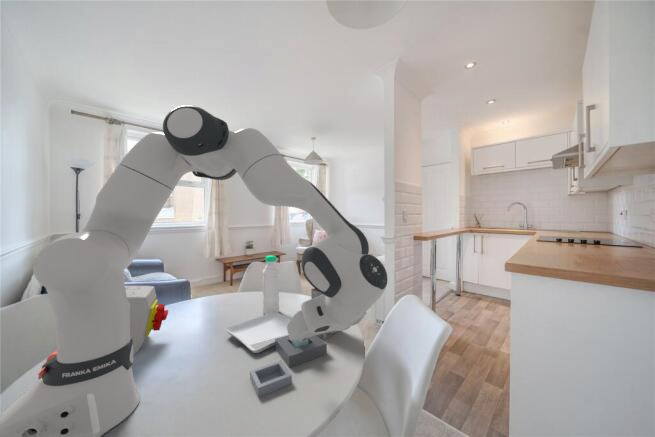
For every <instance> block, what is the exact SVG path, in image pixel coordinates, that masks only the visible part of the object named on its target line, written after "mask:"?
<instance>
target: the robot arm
mask: <svg viewBox="0 0 655 437" xmlns="http://www.w3.org/2000/svg"><path fill="white" fill-rule="evenodd" d="M162 131H163V132H150V133H147V134H146V135H145V136H143V137H142V138H141V139H140V140H139V141H137V143H136V144H135V145H134V146H132V147H131V149H130V150H128V152H127V153H126V155H125V156H124V157H123V158H122V159H121V160H120V162H119V164H118V165H117V167H115V169H114V171H113V172H112V173H111V175H110V176H109V178H108V179H107V181H105V184H103V187H102V188H101V189H100V190H99V192H98V194H97V195H96V198H95V204H94V207H93V209H92V212H91V214H90V217H89V218H88V221H87V223H86V224H85V226H84V228H83V229H82V230H81V231H80V232H79V231H77V232H72V233H69V234H66V235H63V236H60V237H58V238H56V239H55V240H53V241H52V242H50V243H49V244H47V245H46V246H44V247H43V248H42V249H41V250H40V251H39V252H38V254H37V255H36V256H35V258H34V260H33V264H32V273H33V275H34V278H35V279H36V280H37V282H38V283H39V284H40V285H41V286H42V287H44V288H45V290H46V292H47V295H48V298H49V301H50V304H51V307H52V311H53V313H54V314H53V315H54V319H55V320H54V321H55V329H56V330H55V332H56V334H55V335H56V337H55V338H56V345H55V346H56V350H55V351H53V352H52V353H51V354H50V355H49V356H48V357H47V358H46V361H45V362H44V363H43V364H42V366H41V370H39V371H38V373H37V375H38V377H37V379H38V380H40V381H39V382H37V383H36V384H34V385H33V386H32V387H31V388H29V389H28V390H27V391H26V392H24V393H23V394H22V395H21V396H19V397H18V398H17V399H16V400H14V401H13V402H12V403H11V404H10V405H9V406H8V407H7V408H6V409H4V411H3V413H2V414H1V415H0V437H102V436H103V435H104V434H105V433H107V432H108V431H110V430H111V429H113V428H114V427H116V426H117V425H119V424H120V423H122V421H124V420H125V419H126V418H128V417H129V416H130V415H131V414H132V413H133V412H134V410H135V409H136V408H137V407H138V404H139V403H140V399H141V396H140V393H139V391H138V389H137V387H136V382H135V379H134V373H133V367H132V365H133V362H134V355H133V353H134V350H133V340H132V338H131V337H130V303H129V301H128V299H127V295H126V290H125V286H126V284H125V278H124V277H125V276H124V273H125V270H126V269H127V268H128V267H129V266H130V265H131V264H132V262H133V261H134V260H135V258H136V256H137V254H138V252H139V250H140V249H141V247H142V246H143V244H144V241H145V240H146V238H147V236H148V234H149V232H150V230H151V228H152V226H153V224H154V223H155V221H156V219H157V217H158V216H159V214H160V213H161V211H162V209H163V208H164V206H165V205H166V203H167V201H168V200H169V198H170V196H171V195H172V194H173V192H174V190H175V188H176V187H177V185H178V183H179V181H180V180H181V179H182V178H183V176H185V175H186V174H188V173H191V172H192V174H193V175H194V176H195V177H197V178H205V179H210V180H215V181H226V180H228V179H230V178H233V177H234V176H235V175H236V173H237V174H238V176H239V177H240V178H241V180H242V182H243V183H244V185H245V186H246V187H247V189H248V191H249V193H251V194H252V196H253V197H254V198H255V199H256V200H258V202H261V203H262V204H264V205H267V206H272V207H289V208H296V209H299V210H302V211H305V212H306V213H308V214H309V216H310V217H312V219H313V220H314V221H315V222H316V223H317V224H318V225H319V226H320V228H321V229H322V230H323V231H324V232H325V233H326V235H327V236H326V237H324V238H323V239H322V238H321V239H320V240H318V241H317V242H315V243H313V244H312V245H310V246H308V247H306V248H305V249H304V251H303V253H302V256H301V270H302V273H303V276H304V278H305V279H306V281H307V282H308V283H309V284H310V286H312V288H313V289H314V288H315V289H317V290H318V291H319V292H321V293H322V295H320V296H318V297H316V298H313V299H311V298H310V299H308V300H305V301H303V302H302V303H301V305H300V308H301V309H300V310H298V311H297V312H296V313H295V314H294V315H293V316H292V318H290V319H291V320H290V322H289V323H288V325H287V331H288V334H287V335H289V338H290V340H291V341H297V340H299V341H300V342H301V341H304V340H306V339H307V338H308V337H312V336H316V335H319V334H323V333H327V332H331V333H333V332H335V333H337V332H344V331H347V330H348V329H349V328H351V327H352V326H355V325H357V324H359V323H360V322H361V321H362V320H363V319H364V318H365V316H366V315H367V311H368V310H370V309H371V308H372V307H373V306H374V305H375V303H376V302H378V300H379V299H380V298H381V297H382V295H383V294H384V292H385V291H386V289H387V285H388V279H389V278H388V273H387V269H386V268H385V266H384V264H383V263H382V262H381V260H379V259H378V258H377V257H375V256H374V255H372V254H370V253H369V252H370V246H369V241H368V240H367V239H368V238H367V237H366V235H365V234H364V232H362V230H361V229H359V228H358V227H357V226H356V225H354V224H352V223H351V222H349V221H348V220H347V219H346V218H345V217H344V216H343V214H342V213H341V212H340V211H339V210H338V209H337V208H336V207H335V205H334V204H332V203H331V201H330V200H329V199H328V198H327V197H326V196H325V195H324V194H323V193H322V191H320V189H319V188H318V187H317V186H315V184H313V183H312V182H310V181H309V180H307V179H306V178H304V177H303V176H302V175H301V174H300V173H298V172H297V171H296V170H295V169H294V168H293V167H292V166H291V165H290V164H289V163H288V161H286V159H285V158H284V156H283V155H282V154H281V152H280V151H279V149H277V147H276V146H275V145H274V144H273V143H272V142H271V141H270V139H269V138H267V137H266V136H265V134H263V133H262V132H261V131H259V130H258V129H255V128H252V127H244V128H242V129H239V130H237V131H231V130H230V129H229V126H228V123H227V122H226V120H225V121H224V120H223V119H221V118H219V117H218V116H217V117H216V116H214V115H213V114H211V113H210V112H208V111H207V110H205V109H203V108H202V107H199V106H197V105H191V104H187V105H186V104H183V105H181V106H177V107H175V108H173V109H172V110H170V111H169V112H168V113H167V114H166V116H165V117H164V119H163V122H162ZM336 331H337V332H336Z"/></svg>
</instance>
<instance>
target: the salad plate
mask: <svg viewBox="0 0 655 437" xmlns="http://www.w3.org/2000/svg"><path fill="white" fill-rule="evenodd" d="M291 319H292V318H291V317H289V316H286V315H283V314H282V313H281V312H278V313H277V312H273V313H270V314H267V315H265V314H263V315H261V316H258V317H254V318H252V319H248V320H246V321H242V322H240V323H237V324H234V325H232V326H228V327H227V328H225V331H226V333H228V335H230V336H232V337H234V338H235V339H236V340H237V341H239V342H240V343H241V344H243V346H245V347H246V348H247V349H248V350H249V351H251V353H253V354H259V353H261V352H264V351H266V350H268V349H270V348H273V347H275V340H274V341H272V342H270V343H268V344H266V345H264V346H262V347H260V348H258V349H255V348H254V347H253V346H252V345H255V344H258V343H261V342H265V341H269V340H272V339H277V338H281V337H284V336H288V331H287V325H288V323H289V322H290V320H291Z"/></svg>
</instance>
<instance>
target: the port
mask: <svg viewBox="0 0 655 437" xmlns="http://www.w3.org/2000/svg"><path fill="white" fill-rule="evenodd" d="M287 335H288V334H287ZM287 335H284V336H280V337H277V338H274V341H275V345H274V350H275V351H276V352H277V354H278V355H279V356H280V358H281V360H283V362H284V363H285V365H286V367H288V368H292V367H294V366H297V365H301V364H303V363H306V362H308V361H309V362H310V361H312V360H314V359H316V358H320V357H323V356H326V355H327V354H328V352H327V351H328V349H327V345H328V344H327V342H325V341H324V339H322V338H320V337H318V336H317V335H316V336H312V337H308V344H307V345H304V346H301V347H298V348H294V347H293V346H292V341H291V340H290V338H289V335H288V336H287Z"/></svg>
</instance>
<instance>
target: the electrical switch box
mask: <svg viewBox="0 0 655 437" xmlns="http://www.w3.org/2000/svg"><path fill="white" fill-rule="evenodd" d="M155 288H156V287H155V286H151V285H125V290H126V295H127V299H128V301H129V303H130V337H131V338H132V340H133V350H134V353H133V356H135V355H137V353H138V352H139V350H140V348H141V347H142V345H143V343H144V341H145V339H146V338H148V337H149V335H150V334H151V331H154V332H155V331H160V329H161V327H162V323H163V321H166V319H167V317H168V314H169V310H168V309H165V307H166V306H165V303H161V304H160V303H159V304H158V301H159V300H158V299H157V292H156V289H155Z"/></svg>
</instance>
